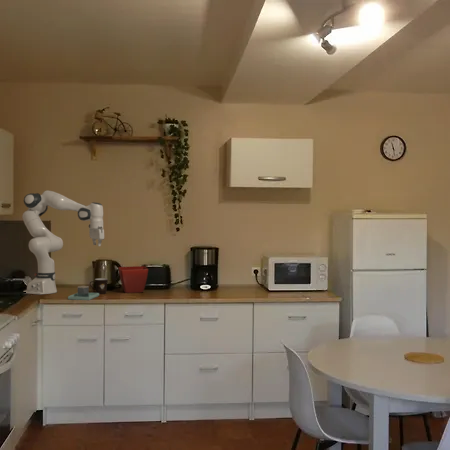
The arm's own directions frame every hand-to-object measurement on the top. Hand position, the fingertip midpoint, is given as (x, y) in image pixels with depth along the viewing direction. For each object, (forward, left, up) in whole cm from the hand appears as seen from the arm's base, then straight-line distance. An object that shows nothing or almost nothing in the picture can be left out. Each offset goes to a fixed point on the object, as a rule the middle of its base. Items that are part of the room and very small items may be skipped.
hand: (96, 245), depth 393 cm
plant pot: (+23, +10, -33) cm, 42 cm away
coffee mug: (+3, -3, -33) cm, 34 cm away
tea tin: (-1, -21, -32) cm, 39 cm away
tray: (-1, -21, -33) cm, 39 cm away
